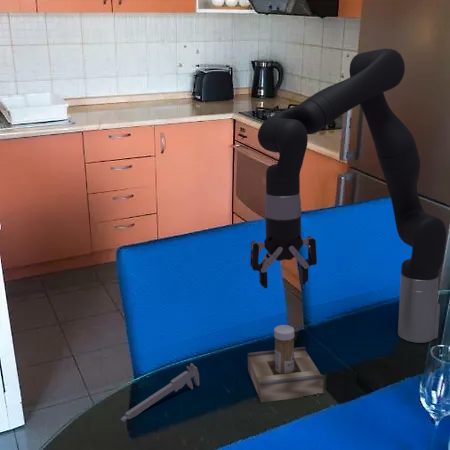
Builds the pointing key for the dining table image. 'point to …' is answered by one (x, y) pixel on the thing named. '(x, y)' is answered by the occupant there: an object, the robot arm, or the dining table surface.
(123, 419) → the caliper
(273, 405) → the dining table surface
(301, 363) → the block
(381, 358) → the dining table surface
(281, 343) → the sprinkles bottle
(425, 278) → the robot arm
